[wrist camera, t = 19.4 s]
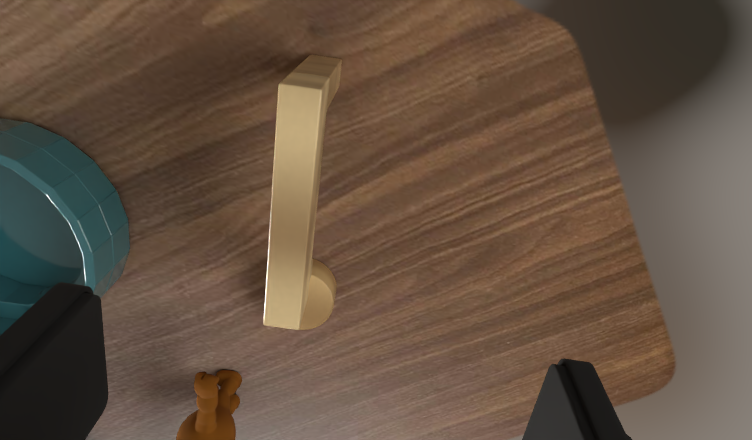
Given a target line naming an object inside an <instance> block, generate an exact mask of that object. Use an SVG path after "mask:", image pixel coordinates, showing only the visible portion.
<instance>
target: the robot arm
mask: <svg viewBox="0 0 752 440" xmlns="http://www.w3.org/2000/svg"><path fill="white" fill-rule="evenodd" d="M107 400H108V384H107V372H106V359H105V347H104V334H103V321H102V309H101V300H100V297H99V296H98V295H94V294H93V290H92V289H91V287H89V286H83V285H77V284H70V283H64V282H60V283H57V284H56V285H54V286H53V287H52V288H51V289H50V290H49V291H48V292H47V293H46V294H45V295H44V296H43V297H41V298H40V299H39V300H38V301H37V302H36V303H35V304H34V305H33V306H32V307H31V308H30V309H28V310H27V311H26V312H25V313H24V314H23V315H22V316H21V317H20V318H19V319H18V320H17V321H15V322H14V323H13V324H12V325H11V326H10V327H9V328H8V329H7V330H6V331H5V332H4V333H2V334H1V335H0V440H85V439H86V437H87V436H88V434H89V433H90V431H91V430H92V428H93V427H94V425H95V424H96V422H97V421H98V419H99V418H100V416H101V415H102V413H103V411H104V409H105V407H106V404H107ZM522 440H632V439H631V437H629V436H628V435H627V434H626V433H625V431H624V429H623V427H622V425H621V423H620V421H619V419H618V417H617V415H616V412H615V410H614V408H613V406H612V404H611V402H610V400H609V398H608V396H607V394H606V391H605V389H604V387H603V385H602V383H601V381H600V379H599V377H598V375H597V373H596V370H595V368H594V367H593V365H592V364H591V363H589V362H583V361H576V360H570V359H561V360H560V361H559V363H558V365H556V364H552V365H551V366H550V367H549V369H548V372H547V374H546V377H545V380H544V382H543V385H542V388H541V390H540V393H539V396H538V399H537V401H536V404H535V407H534V409H533V412H532V415H531V417H530V420H529V423H528V425H527V428H526V431H525V433H524V436H523V439H522Z"/></svg>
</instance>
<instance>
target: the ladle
mask: <svg viewBox="0 0 752 440" xmlns="http://www.w3.org/2000/svg"><path fill="white" fill-rule="evenodd" d="M341 65H342V59H339V58H332V57H325V56H318V55H312V54H311V55H310V56H308V57H307V58H306V59H305V60H304V61H303V62H302V63H301V64H300V65H299V66H298V67H296V68H295V69H294V70H293V71H292V72H291V73H290V74H289V75H288V76H287V77H286V78H285V79H284V80H283V81H282V82H280V83H279V86H278V102H277V118H276V133H275V149H274V165H273V180H272V196H271V212H270V228H269V243H268V259H267V275H266V290H265V306H264V322H263V324H264V325H266V326H273V327H281V328H288V329H296V330H307V329H312V328H315V327H317V326H319V325H321V324H322V323H324V322H325V321H326V320H327V319H328V318H329V316H330V314H331V312H332V310H333V305H334V300H335V295H336V281H335V278H334V276H333V274H332V272H331V271H330V270H329V268H328V267H327V266H325V265H324V264H323V263H321V262H319V261H317V260H315V259H313V258H312V251H313V241H314V231H315V221H316V211H317V202H318V192H319V182H320V172H321V163H322V153H323V143H324V133H325V123H326V114H327V109H328V107H329V105H330V103H331V101H332V99H333V97H334V95H335V94H336V92H337V90H338V88H339V83H340V74H341Z"/></svg>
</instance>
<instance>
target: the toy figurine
mask: <svg viewBox="0 0 752 440" xmlns="http://www.w3.org/2000/svg"><path fill="white" fill-rule="evenodd" d="M241 382H242V378H241V375H240V374H239V373H238V372H235V371H231V370H220V371H219V372H217V374H216V376H214V375H211V374H207V373H206V372H199V373H197V374H196V376H195V382H194V389H195V391H196V393H197V394H198V395H197V406H198V408H199V410H197V411H195V412H194V413H192V414H191V415H189V416H188V417H187V418H186V420H185V421H184V422H183V423H182V424H181V426H180V428H179V431H178V433H177V437H176V440H235V436H236V430H235V423H234V419H233V417H232V415H231V414H233V413H234V411H235V409H237V408H238V406H239V404H240V399H239V397H238V396H237V395H236V394H234V393H235V392H236V390H237V388H238V387H240V384H241ZM217 384H218V385H219V386H221V389H219V388H218V386H217Z"/></svg>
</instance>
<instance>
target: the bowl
mask: <svg viewBox="0 0 752 440" xmlns="http://www.w3.org/2000/svg"><path fill="white" fill-rule="evenodd" d="M129 249H130V241H129V224H128V218H127V215H126V213H125V210H124V208H123V205H122V203H121V200H120V198H119V195H118V193H117V191H116V189H115V187H114V186H113V185H112V184H111V182H110V181H109V180H108V178H107V177H106V176H105V174H104V173H103V172H102V171H101V169H100V168H99V167H98V165H97V164H96V163H95V162H94V160H92V159H91V158H90V157H88V156H87V155H86V154H85V153H83V152H82V151H81V150H79V149H78V148H77V147H76V146H74V145H73V144H72V143H71V142H69V141H68V140H67V139H65V138H64V137H62V136H59V135H57V134H55V133H53V132H50V131H48V130H46V129H43V128H41V127H39V126H37V125H34V124H32V123H28V122H23V121H15V120H8V119H1V118H0V335H1V334H2V333H4V332H5V331H6V330H7V329H8V328H9V327H10V326H11V325H12V324H13V323H14V322H15V321H17V320H18V319H19V318H20V317H21V316H22V315H23V314H24V313H25V312H26V311H27V310H28V309H30V308H31V307H32V306H33V305H34V304H35V303H36V302H37V301H38V300H39V299H40V298H41V297H43V296H44V295H45V294H46V293H47V292H48V291H49V290H50V289H51V288H52V287H53V286H54V285H56V284H57V283H60V282H64V283H70V284H77V285H83V286H89V287H91V289H92V290H93V294H94V295H98V296H99V297H100V299H101V298H102V297H103V295H104V294H105V293H106V292H107V291H108V290H109V289H110V288H111V286H112V285H113V284H114V283H115V282H116V281H117V280H118V279H119V277H120V276H121V274H122V272H123V269H124V266H125V263H126V260H127V257H128V254H129V251H130V250H129Z"/></svg>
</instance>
